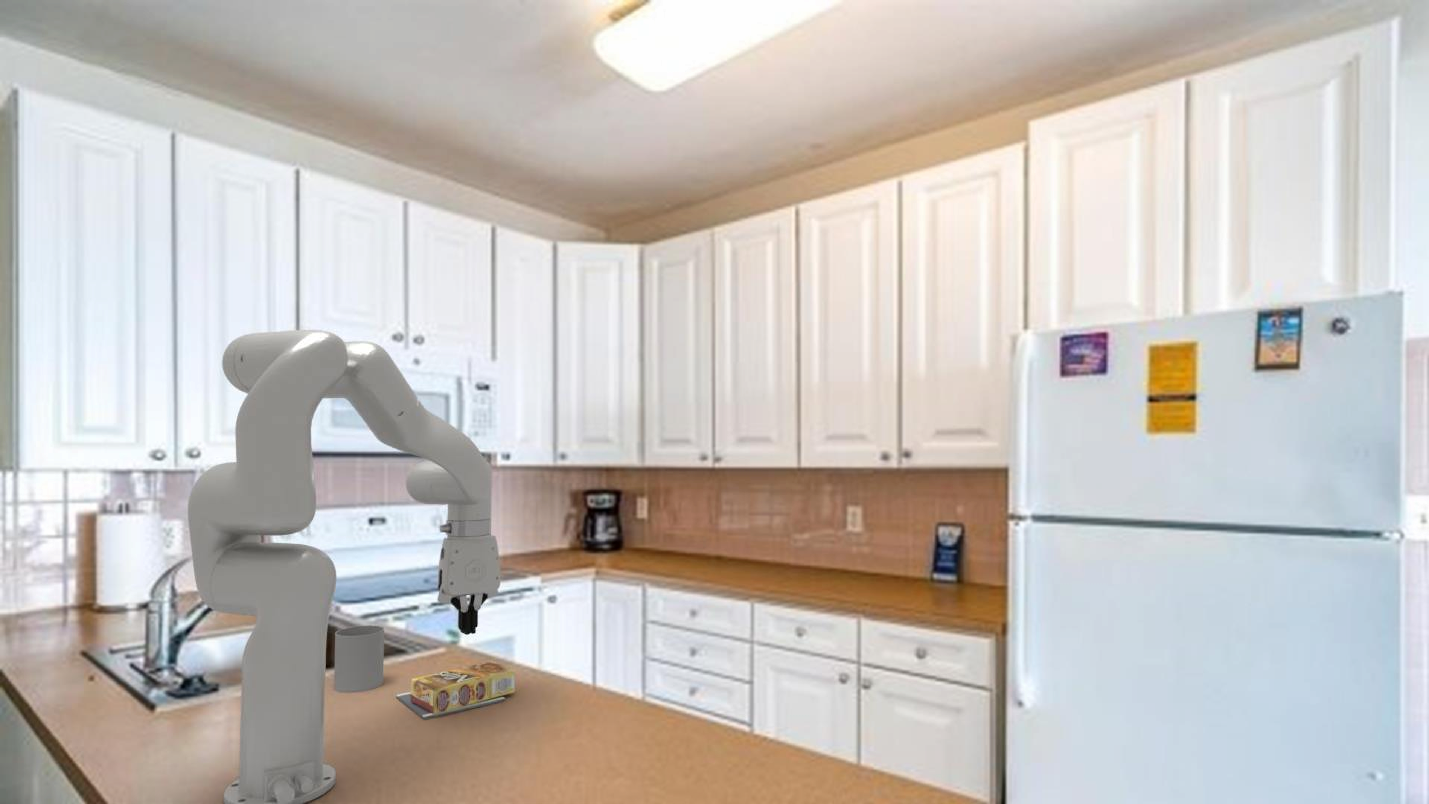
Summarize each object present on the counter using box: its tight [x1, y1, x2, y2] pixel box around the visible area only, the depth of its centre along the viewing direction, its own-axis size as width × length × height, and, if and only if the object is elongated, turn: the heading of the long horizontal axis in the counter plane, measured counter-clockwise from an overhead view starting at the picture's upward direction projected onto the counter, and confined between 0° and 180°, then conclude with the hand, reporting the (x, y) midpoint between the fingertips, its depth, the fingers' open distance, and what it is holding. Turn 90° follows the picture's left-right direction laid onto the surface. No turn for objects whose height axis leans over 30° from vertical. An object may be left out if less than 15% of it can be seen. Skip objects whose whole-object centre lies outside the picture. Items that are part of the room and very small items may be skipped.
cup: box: [333, 624, 385, 694], centre depth 142 cm, size 8×8×10 cm
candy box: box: [410, 660, 516, 714], centre depth 133 cm, size 9×4×15 cm
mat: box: [395, 691, 506, 720], centre depth 134 cm, size 14×14×1 cm
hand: (467, 632), depth 136 cm, fingers closed
